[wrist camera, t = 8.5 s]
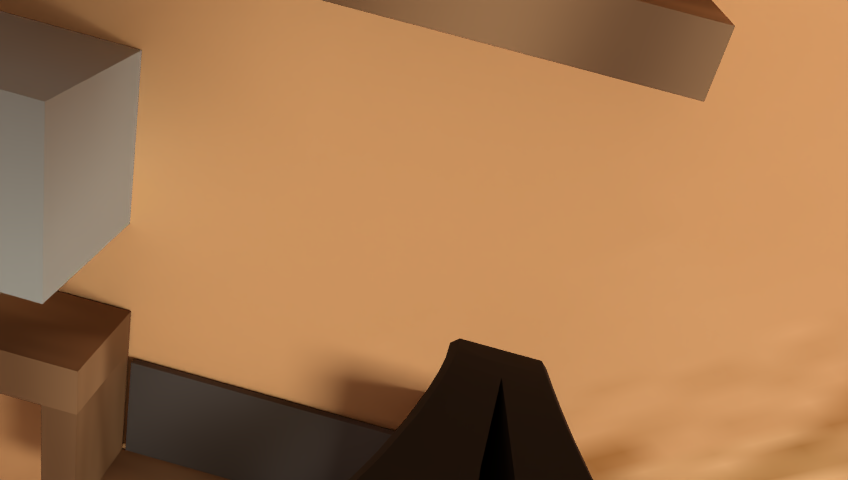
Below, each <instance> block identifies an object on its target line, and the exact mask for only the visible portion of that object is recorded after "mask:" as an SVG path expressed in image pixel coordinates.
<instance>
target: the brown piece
mask: <svg viewBox="0 0 848 480" xmlns="http://www.w3.org/2000/svg"><path fill="white" fill-rule="evenodd" d="M323 1H327V2H331V3H334V4H338V5H342V6H346V7H349V8H353V9H357V10H361V11H364V12H368V13H372V14H376V15H380V16H383V17H387V18H391V19H395V20H398V21H402V22H406V23H410V24H413V25H417V26H421V27H425V28H428V29H432V30H436V31H440V32H444V33H447V34H451V35H455V36H459V37H462V38H466V39H470V40H474V41H477V42H481V43H485V44H489V45H492V46H496V47H500V48H504V49H508V50H511V51H515V52H519V53H523V54H526V55H530V56H534V57H538V58H541V59H545V60H549V61H553V62H556V63H560V64H564V65H568V66H572V67H575V68H579V69H583V70H587V71H590V72H594V73H598V74H602V75H605V76H609V77H613V78H617V79H620V80H624V81H628V82H632V83H636V84H639V85H643V86H647V87H651V88H654V89H658V90H662V91H666V92H669V93H673V94H677V95H681V96H685V97H688V98H692V99H696V100H700V101H703V102H704V101H705V98H706V96H707V93H708V91H709V88H710V86H711V84H712V81H713V79H714V76H715V74H716V71H717V69H718V66H719V64H720V62H721V59H722V57H723V54H724V52H725V49H726V47H727V44H728V42H729V40H730V37H731V35H732V32H733V30H734V27H735V26H734V24H733V23H732V22H731V21H730V20H729V19H728V18H727V17H726V16H725V15H724V13H723V12H722V11H721V10H720V9H719V8H718V7H717V6H716V5H715V4H714V2H713V1H712V0H323ZM130 317H131V311H128V310H124V309H120V308H117V307H113V306H110V305H106V304H102V303H99V302H95V301H91V300H88V299H84V298H81V297H77V296H73V295H70V294H66V293H63V292H59V291H56V292H55V293H54V294H53V295H52V296H51V297H50V298H49V299H47V300H46V301H45V302H44V303H43V304H40V303H37V302H33V301H30V300H26V299H23V298H19V297H16V296H12V295H9V294H5V293H2V292H0V394H4V395H8V396H11V397H15V398H18V399H22V400H25V401H29V402H32V403H36V404H40V405H41V480H349V479H350V478H351V477H352V476H353V475H354V474H355V473H356V472H357V471H358V470H359V469H360V468H361V467H362V466H363V465H364V464H365V463H366V462H367V461H368V460H369V459H370V458H371V457H372V456H373V455H374V454H375V453H376V452H377V451H378V450H379V449H380V448H381V447H382V445H383V444H384V443H385V442H386V441H387V440H388V439H389V437H390V436H391V435H392V434H393V433H394V432H395V431H392V430H389V429H385V428H382V427H378V426H374V425H371V424H367V423H364V422H360V421H356V420H353V419H349V418H346V417H342V416H338V415H335V414H331V413H328V412H324V411H320V410H317V409H313V408H310V407H306V406H302V405H299V404H295V403H292V402H288V401H284V400H281V399H277V398H274V397H270V396H267V395H263V394H259V393H256V392H252V391H249V390H245V389H241V388H238V387H234V386H231V385H227V384H223V383H220V382H216V381H213V380H209V379H205V378H202V377H198V376H195V375H191V374H187V373H184V372H180V371H177V370H173V369H169V368H166V367H162V366H159V365H155V364H152V363H148V362H144V361H141V360H137V359H134V360H133V361H132V362H131V374H130V389H129V404H128V419H127V434H126V449H122V443H123V428H124V412H125V396H126V380H127V365H128V349H129V333H130Z"/></svg>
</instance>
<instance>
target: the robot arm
mask: <svg viewBox="0 0 848 480" xmlns="http://www.w3.org/2000/svg"><path fill="white" fill-rule="evenodd" d="M349 480H593V479H592V477H591V475H590V473H589V471H588V468H587V466H586V464H585V462H584V460H583V458H582V456H581V454H580V451H579V449H578V447H577V445H576V443H575V441H574V438H573V436H572V434H571V432H570V429H569V427H568V425H567V422H566V420H565V417H564V415H563V412H562V410H561V408H560V405H559V402H558V400H557V397H556V395H555V392H554V389H553V387H552V384H551V381H550V378H549V375H548V373H547V370H546V368H545V366H544V364H543V363H542V361H540V360H536V359H532V358H529V357H525V356H521V355H518V354H514V353H511V352H507V351H503V350H500V349H496V348H492V347H489V346H485V345H481V344H478V343H474V342H471V341H467V340H463V339H458V340H455V341H453V342H451V343H450V345H449V349H448V352H447V355H446V358H445V360H444V362H443V364H442V366H441V368H440V370H439V372H438V374H437V375H436V377H435V378H434V380H433V382H432V383H431V385H430V386H429V388H428V389H427V391H426V392H425V394H424V395H423V396H422V398H421V399H420V400H419V402H418V403H417V404H416V406H415V407H414V409H413V410H412V411H411V413H410V414H409V415H408V417H407V418H406V419H405V420H404V421H403V423H402V424H401V425H400V426H399V427H398V428H397V430H396V431H395V432H394V433H393V434H392V435H391V436H390V437H389V439H388V440H387V441H386V442H385V443H384V444H383V445H382V447H381V448H380V449H379V450H378V451H377V452H376V453H375V454H374V455H373V456H372V457H371V458H370V459H369V460H368V461H367V462H366V463H365V464H364V465H363V466H362V467H361V468H360V469H359V470H358V471H357V472H356V473H355V474H354V475H353V476H352V477H351V478H350V479H349Z"/></svg>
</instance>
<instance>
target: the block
mask: <svg viewBox="0 0 848 480" xmlns="http://www.w3.org/2000/svg"><path fill="white" fill-rule="evenodd" d="M141 54H142V50H139V49H136V48H132V47H128V46H125V45H121V44H118V43H114V42H110V41H107V40H103V39H100V38H96V37H92V36H89V35H85V34H82V33H78V32H74V31H71V30H67V29H63V28H60V27H56V26H53V25H49V24H45V23H42V22H38V21H35V20H31V19H27V18H24V17H20V16H17V15H13V14H9V13H6V12H2V11H0V292H2V293H5V294H9V295H12V296H16V297H19V298H23V299H26V300H30V301H33V302H37V303H40V304H43V303H44V302H45V301H46V300H47V299H49V298H50V297H51V296H52V295H53V294H54V293H55V292H56V291H57V290H58V289H59V288H60V287H62V286H63V285H64V284H65V283H66V282H67V281H68V280H69V279H70V278H71V277H72V276H73V275H74V274H76V273H77V272H78V271H79V270H80V269H81V268H82V267H83V266H84V265H85V264H86V263H87V262H89V261H90V260H91V259H92V258H93V257H94V256H95V255H96V254H97V253H98V252H99V251H100V250H102V249H103V248H104V247H105V246H106V245H107V244H108V243H109V242H110V241H111V240H112V239H113V238H115V237H116V236H117V235H118V234H119V233H120V232H121V231H122V230H123V229H124V228H125V227H126V226H128V225H129V224H130V213H131V199H132V184H133V170H134V155H135V141H136V126H137V112H138V97H139V83H140V68H141Z"/></svg>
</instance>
